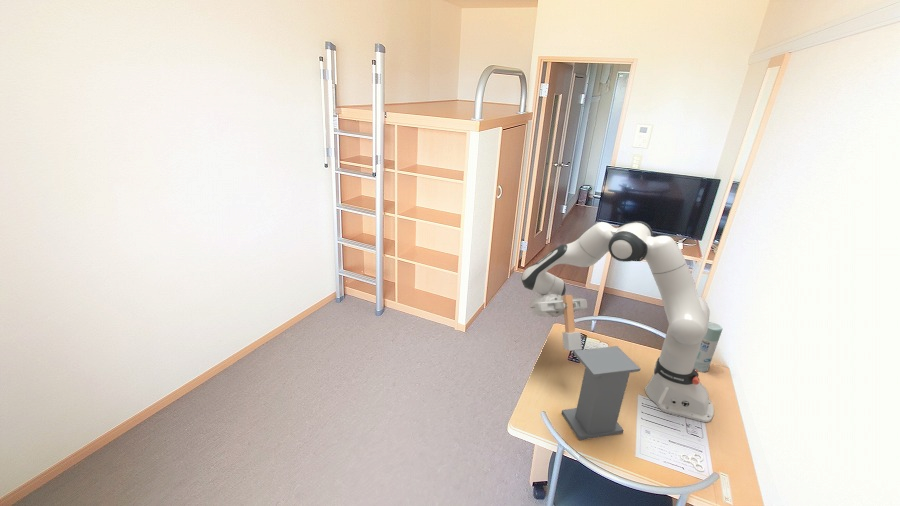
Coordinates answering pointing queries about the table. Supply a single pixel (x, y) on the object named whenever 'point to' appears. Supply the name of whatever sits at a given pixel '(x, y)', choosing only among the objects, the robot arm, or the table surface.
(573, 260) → the robot arm
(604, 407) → the stand
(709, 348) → the spray paint can
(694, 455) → the fidget spinner
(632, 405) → the table surface
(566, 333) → the bar
